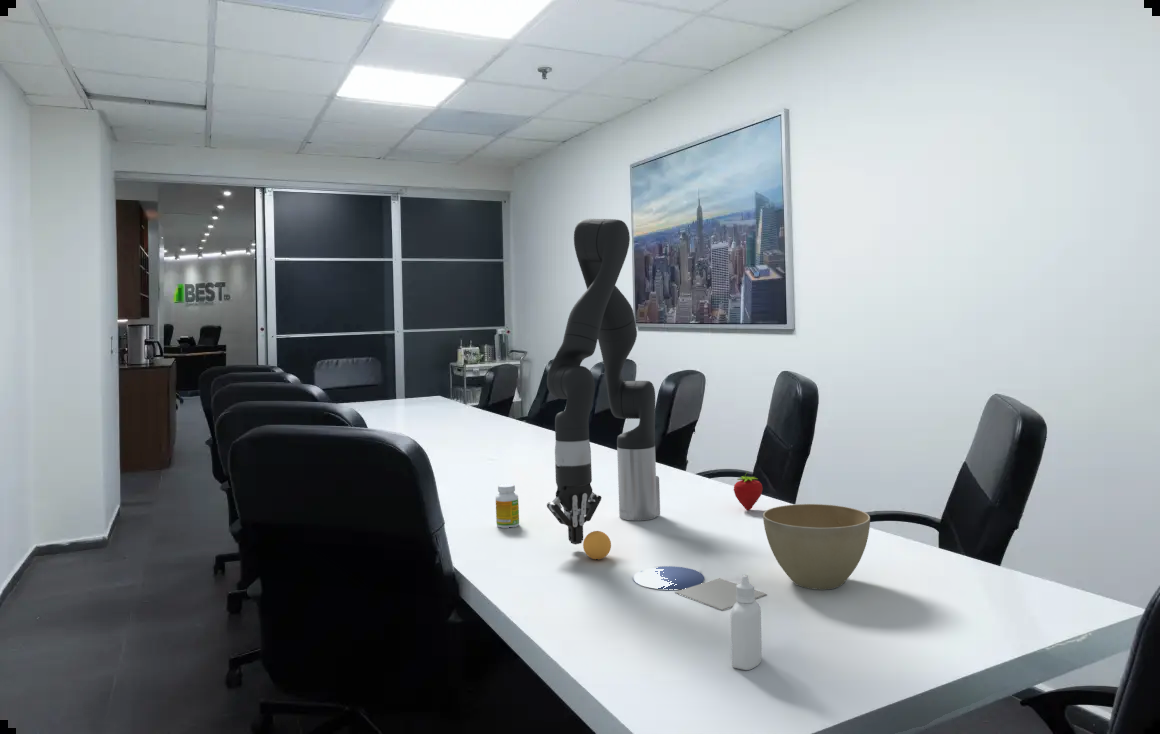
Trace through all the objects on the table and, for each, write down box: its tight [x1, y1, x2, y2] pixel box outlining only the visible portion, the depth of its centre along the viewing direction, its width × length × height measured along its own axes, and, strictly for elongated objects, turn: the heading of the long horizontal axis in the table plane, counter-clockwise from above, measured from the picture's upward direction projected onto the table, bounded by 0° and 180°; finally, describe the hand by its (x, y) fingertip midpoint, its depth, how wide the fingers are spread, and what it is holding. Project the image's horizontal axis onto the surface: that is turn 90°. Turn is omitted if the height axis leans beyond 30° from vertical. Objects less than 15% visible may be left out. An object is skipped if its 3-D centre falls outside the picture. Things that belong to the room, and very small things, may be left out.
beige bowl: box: [762, 503, 871, 590], centre depth 136 cm, size 18×18×12 cm
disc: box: [655, 565, 705, 591], centre depth 141 cm, size 13×13×1 cm
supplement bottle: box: [495, 483, 520, 529], centre depth 183 cm, size 5×5×10 cm
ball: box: [582, 530, 612, 560], centre depth 154 cm, size 6×6×6 cm
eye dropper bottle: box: [730, 574, 763, 671], centre depth 104 cm, size 4×6×12 cm
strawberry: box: [733, 472, 764, 511], centre depth 190 cm, size 6×8×10 cm
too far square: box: [675, 577, 768, 611], centre depth 131 cm, size 11×11×1 cm
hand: (575, 543), depth 160 cm, fingers closed
